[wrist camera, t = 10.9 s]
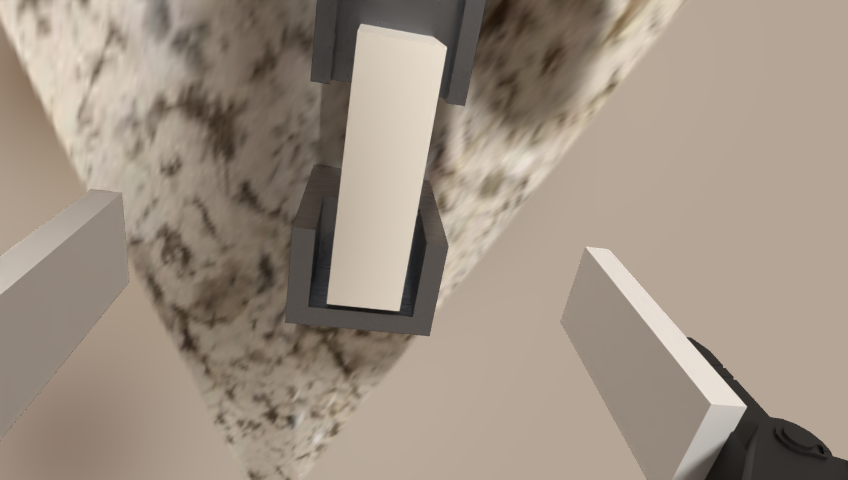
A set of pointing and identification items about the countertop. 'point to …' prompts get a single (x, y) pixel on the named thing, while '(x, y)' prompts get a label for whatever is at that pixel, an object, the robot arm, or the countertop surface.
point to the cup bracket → (316, 255)
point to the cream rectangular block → (383, 164)
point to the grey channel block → (405, 11)
